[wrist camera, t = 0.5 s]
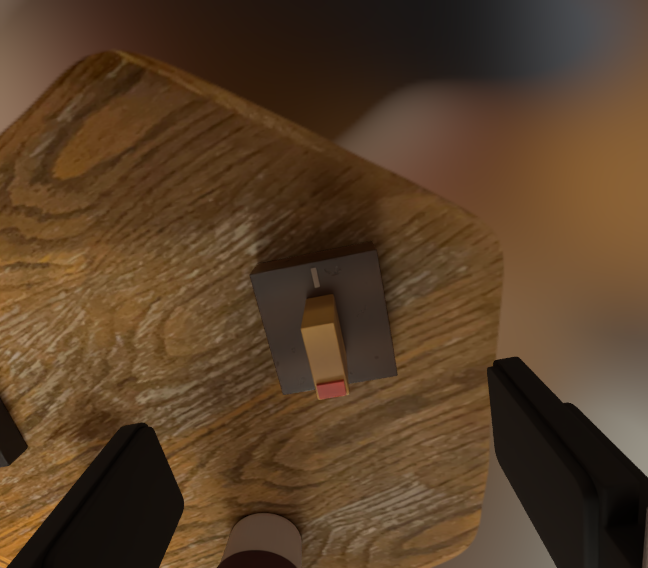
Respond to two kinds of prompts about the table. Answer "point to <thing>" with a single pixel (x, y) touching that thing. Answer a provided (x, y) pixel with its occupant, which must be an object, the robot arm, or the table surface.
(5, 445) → the dark grey button housing
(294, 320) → the plate
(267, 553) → the coffee cup
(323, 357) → the thumbturn
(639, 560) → the robot arm
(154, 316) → the table surface
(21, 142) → the table surface
